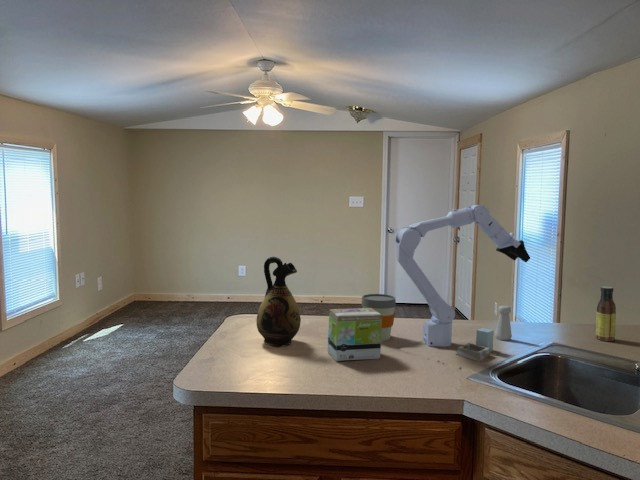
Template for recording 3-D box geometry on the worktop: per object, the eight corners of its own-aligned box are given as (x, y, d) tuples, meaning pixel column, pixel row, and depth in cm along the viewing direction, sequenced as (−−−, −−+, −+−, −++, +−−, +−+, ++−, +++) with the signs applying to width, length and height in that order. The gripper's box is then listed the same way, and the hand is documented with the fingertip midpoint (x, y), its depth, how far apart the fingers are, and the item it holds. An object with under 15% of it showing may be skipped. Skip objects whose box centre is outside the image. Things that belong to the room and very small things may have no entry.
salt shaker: (493, 341, 175) (495, 306, 174) (495, 338, 180) (497, 303, 179) (510, 344, 172) (512, 308, 171) (512, 340, 177) (514, 305, 176)
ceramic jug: (308, 340, 173) (309, 256, 170) (287, 352, 159) (288, 261, 156) (267, 333, 180) (267, 253, 177) (243, 344, 166) (244, 258, 163)
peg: (487, 353, 159) (488, 332, 158) (475, 350, 161) (476, 329, 161) (492, 350, 161) (493, 330, 161) (481, 347, 164) (482, 327, 164)
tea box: (336, 362, 150) (337, 316, 149) (327, 352, 160) (328, 308, 158) (381, 359, 154) (382, 313, 153) (369, 349, 164) (371, 306, 162)
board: (475, 348, 167) (476, 338, 167) (501, 354, 161) (501, 344, 160) (454, 357, 157) (455, 347, 157) (481, 364, 151) (481, 353, 150)
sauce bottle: (609, 337, 183) (613, 285, 182) (618, 342, 177) (622, 288, 175) (591, 336, 184) (595, 285, 182) (599, 341, 178) (603, 288, 176)
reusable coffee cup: (401, 340, 174) (402, 299, 173) (370, 343, 170) (371, 301, 168) (384, 331, 186) (385, 292, 185) (354, 334, 181) (355, 294, 180)
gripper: (514, 223, 159) (541, 252, 161) (493, 223, 174) (519, 249, 175) (499, 239, 159) (527, 267, 160) (480, 237, 173) (505, 263, 175)
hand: (522, 259), depth 168 cm, fingers open, 7 cm apart
